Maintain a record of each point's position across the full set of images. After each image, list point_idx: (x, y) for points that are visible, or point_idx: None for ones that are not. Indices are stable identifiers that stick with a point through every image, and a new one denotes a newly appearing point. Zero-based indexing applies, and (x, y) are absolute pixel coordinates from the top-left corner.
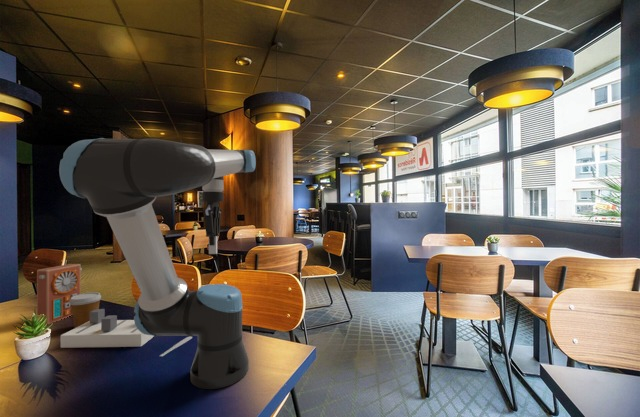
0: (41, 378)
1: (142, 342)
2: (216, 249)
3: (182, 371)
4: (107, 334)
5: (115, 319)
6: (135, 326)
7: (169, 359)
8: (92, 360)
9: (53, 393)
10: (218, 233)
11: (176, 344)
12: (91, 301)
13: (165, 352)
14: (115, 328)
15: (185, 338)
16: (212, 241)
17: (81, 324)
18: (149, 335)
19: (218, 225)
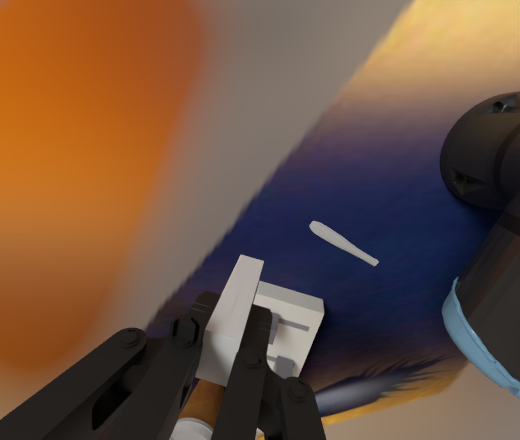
0: (377, 386)
1: (319, 301)
2: (250, 272)
3: (456, 220)
4: (304, 360)
5: (279, 369)
6: (280, 329)
7: (397, 248)
8: (347, 349)
9: (428, 364)
10: (145, 336)
11: (341, 245)
12: (209, 428)
13: (367, 258)
14: (279, 355)
15: (317, 233)
16: (268, 335)
17: (222, 398)
18: (298, 297)
19: (68, 420)
